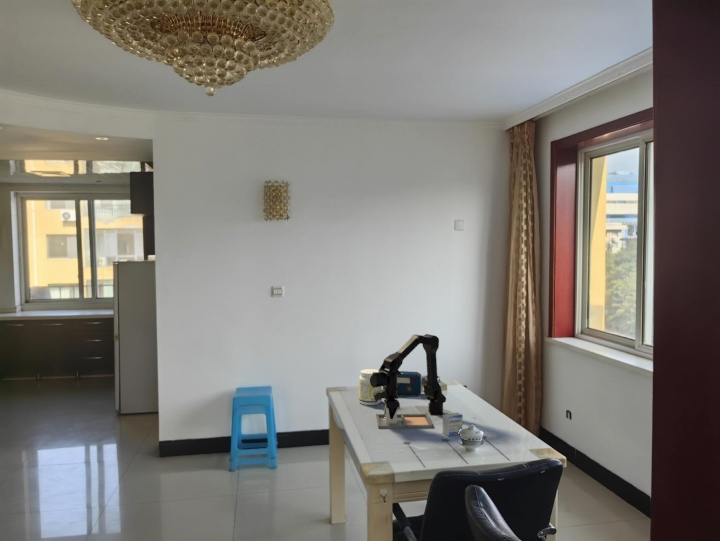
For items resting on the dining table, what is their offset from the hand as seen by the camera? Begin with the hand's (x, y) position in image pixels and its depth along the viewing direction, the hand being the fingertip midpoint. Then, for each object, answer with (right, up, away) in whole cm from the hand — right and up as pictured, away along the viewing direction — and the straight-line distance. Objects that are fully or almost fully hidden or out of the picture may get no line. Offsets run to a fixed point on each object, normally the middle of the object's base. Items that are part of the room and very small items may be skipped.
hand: (390, 417), depth 248 cm
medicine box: (+27, -4, -14) cm, 30 cm away
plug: (0, -2, 0) cm, 2 cm away
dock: (+6, -3, 0) cm, 7 cm away
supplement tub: (-9, -2, +33) cm, 34 cm away
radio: (+9, -1, +49) cm, 50 cm away
